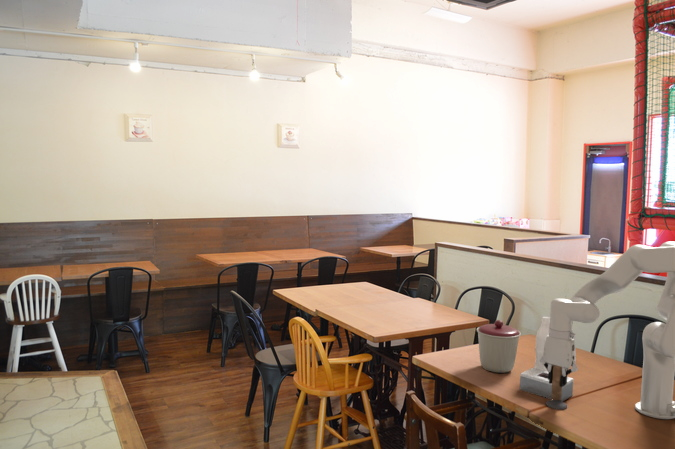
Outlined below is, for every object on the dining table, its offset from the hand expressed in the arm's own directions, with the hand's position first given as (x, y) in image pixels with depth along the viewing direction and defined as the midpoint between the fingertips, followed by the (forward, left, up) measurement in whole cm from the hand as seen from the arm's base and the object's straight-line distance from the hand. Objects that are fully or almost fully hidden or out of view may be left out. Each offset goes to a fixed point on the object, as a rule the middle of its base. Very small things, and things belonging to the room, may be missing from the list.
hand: (557, 383), depth 193 cm
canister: (+34, -19, -8) cm, 40 cm away
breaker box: (+8, -9, -8) cm, 14 cm away
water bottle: (+16, -24, -8) cm, 30 cm away
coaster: (0, 0, -8) cm, 8 cm away
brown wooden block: (0, 0, -5) cm, 5 cm away
